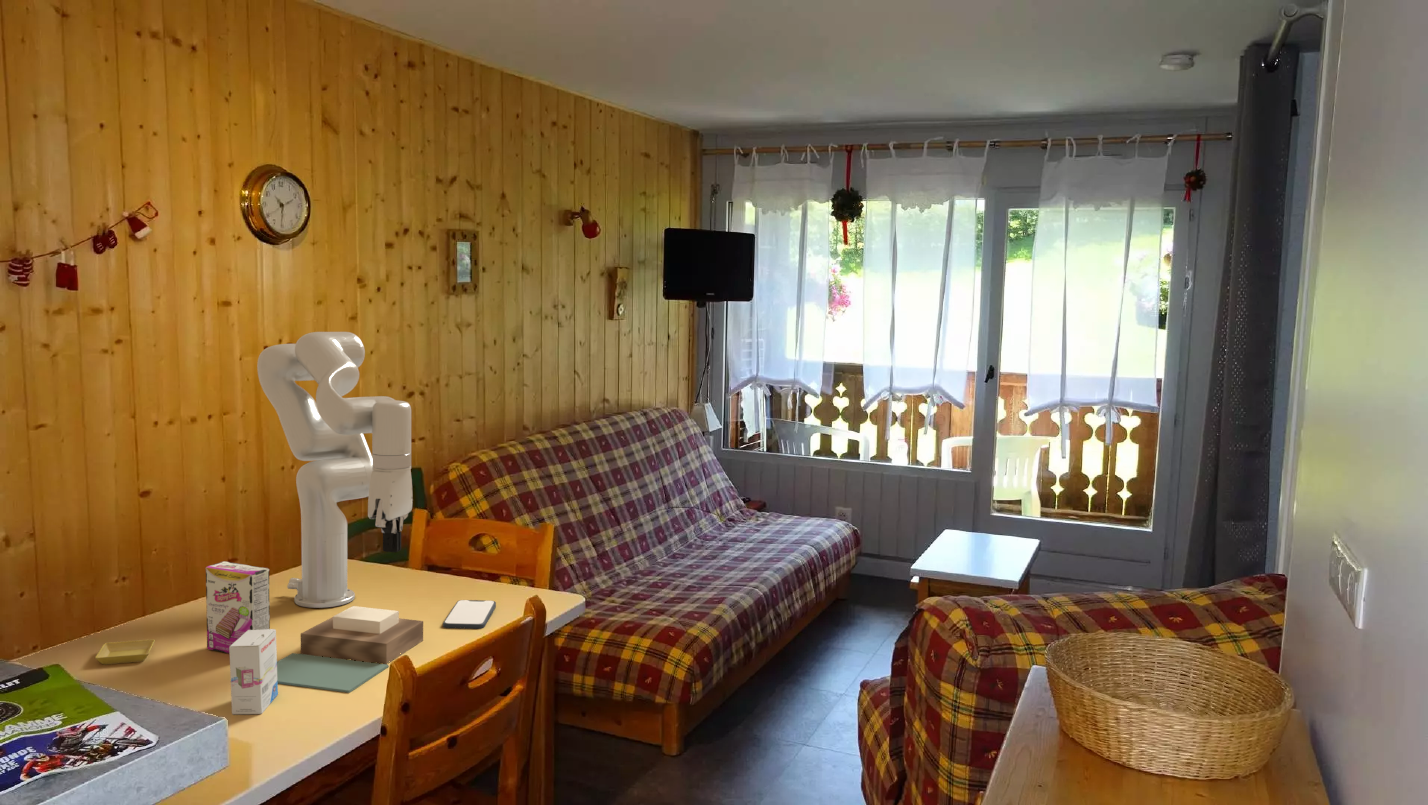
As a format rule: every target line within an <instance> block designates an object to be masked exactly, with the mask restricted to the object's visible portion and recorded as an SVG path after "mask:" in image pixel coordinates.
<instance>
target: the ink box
mask: <svg viewBox="0 0 1428 805" xmlns="http://www.w3.org/2000/svg"><path fill="white" fill-rule="evenodd" d="M229 652H230V653H229V669H230V696H231V698H230V699H231V714H232V715H261V714H263V713H264V712H265V711H266V709H267V708H268V707H269V706H270V704H271V703H272V702H273V701H274V700H275V699H276V698H277V696H278V695H279V691H278V690H279V688H278V686H279V685H278V683H277V661H278V658H277V656H278V654H277V653H278V652H277V630H276V629H275V628H270V629H263V630H248V631H246V632H245V633H244V634H243V635H242V636H241V637H240V638H239V639H238V640H236V641H235V642H234V643H233V644H232V645H231V646H230V647H229Z"/></svg>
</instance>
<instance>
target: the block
mask: <svg viewBox="0 0 1428 805" xmlns="http://www.w3.org/2000/svg"><path fill="white" fill-rule="evenodd" d="M423 641H424V620H418V619H408V618H401V617H399V623H397V624H396V625H394V626H392V627H391V628H389V629H387V630H386V631H384V632H382V633H381V634H377V633H368V632H359V631H351V630H342V629H333V616H332V617H329V618H328V619H326V620H323V621H321V622H320V623H318V624H316V625H315V626H312V627H311V628H308V629H307V630H304V631H303V632H301V633H300V654H304V655H313V656H321V657H322V656H323V657H329V658H330V657H331V658H337V659H345V660H346V659H351V660H353V661H354V660H356V661H364V662H370V663H371V662H377V663H378V664H379V663H383V664H386V665H388V664H389V663H391V662H393V661H394V660H395V659H397V658H398V656H399V657H400V656H402V655H403V654H405V653H406V652H408V651H409V650H411V649H412V648H414V647H416V646H417V645H418V644H420V643H421V642H423ZM400 653H401V654H400ZM393 659H394V660H393ZM389 661H390V662H389ZM388 662H389V663H388ZM387 663H388V664H387Z"/></svg>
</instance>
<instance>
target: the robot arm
mask: <svg viewBox="0 0 1428 805" xmlns="http://www.w3.org/2000/svg"><path fill="white" fill-rule="evenodd" d="M365 355H366V350H365V346H364V343H363V342H362V339H361V338H360V337H359V336H358V335H356V334H355V333H353V332H350V331H314V332H309V333H306V334H303V335H302V336H301V337H299V339H297V341H296V343H283V344H282V343H281V344H280V343H279V344H274V345H271V346H268V347H266V348H265V349H263V350H262V351H261V353H259V356H258V358H257V367H256V368H257V369H256V370H257V377H258V381H259V384H260V386H261V389H262V391H263V393H264V394H265V396H266V397H267V399H268V401H269V402H270V403H271V405H272V407H273V408H274V410H275V412H276V414H277V416H278V419H279V422H280V425H281V427H282V430H283V433H284V435H285V438H286V441H287V444H288V446H289V449H290V450H291V453H292V454H293V456H294V457H295V458H296V459H297V460H299V461H303V462H308V463H305V464H304V465H302V466H301V467H300V468H299V469H298V471H297V473H296V477H295V481H296V482H295V484H296V490H297V495H298V499H299V500H298V501H299V507H300V518H301V519H300V521H301V522H300V524H301V525H300V526H301V532H300V533H301V578H297V577H291V578H290V579H289V580H288V584H287V589H290V590H296V591H297V594H295V596H294V597H293V598H294V603H295V604H296V605H297V606H300V607H304V608H310V609H311V608H312V609H317V608H319V609H324V608H334V607H340V606H343V605H347V604H348V603H351V602H352V601H354V600H355V596H356V593H355V592H354V590H352V589H350V588H348V520H347V518H346V516H345V514H344V513H343V511H342V510H341V509H340V507H339V506H338V504H337V503H339V502H343V501H349V500H357V499H363V498H368V500H367V501H368V502H367V517H368V518H369V519H370V520H375V525H374V526H375V527H377V528H381V529H380V530H381V533H382V551H383V552H387V553H388V552H389V553H398V552H400V551H401V550H402V531H403V527H404V520H406V519H407V518H408V517H409V513H411V511H412V509H413V501H414V499H413V479H412V472H411V469H412V407H411V405H410V403H409V402H408V401H405V400H398V399H397V400H396V399H395V398H392V397H390V396H387V395H385V396H383V395H380V396H379V395H378V396H357V397H343V396H345V395H347V394H349V393H350V392H351V391H352V390H354V388H355V387H356V386H357V384H358V382H359V380H360V371H359V368H360V366H362V364H363V362H364V360H365ZM302 381H303V382H305V381H315V383H316V384H317V385H318V386H317V389H316V392H315V399H314V397H313V396H312V394H310V393H309V392H308V391H307V390H305V388H303V387H302V386H300V385H299V384H297V383H296V382H302ZM364 434H371V436H372V437H371V438H372V439H371V440H372V442H371V443H372V444H371V445H372V446H371V448H372V452H371V449H370V447H369V445H368V442H367V440H366V437H365V435H364Z"/></svg>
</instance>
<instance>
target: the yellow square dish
mask: <svg viewBox="0 0 1428 805" xmlns="http://www.w3.org/2000/svg"><path fill="white" fill-rule="evenodd" d="M155 641H156V640H155V639H140V640H139V639H138V640H126V641H115V642H114V641H113V642H110V641H109V642H105V643H103V644H102V645H101V647H100V649H99V651H98V652H97V654H96V655H95V657H94V659H95V660H96V661H98V662H99V664H101V665H114V664H115V665H117V664H129V663H138V662H139V663H140V662H141V663H142V662H144V661H145V660H146V659H147V657H148V656H149V654H150V652H151V650H152V647H153V646H154V644H155Z"/></svg>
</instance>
